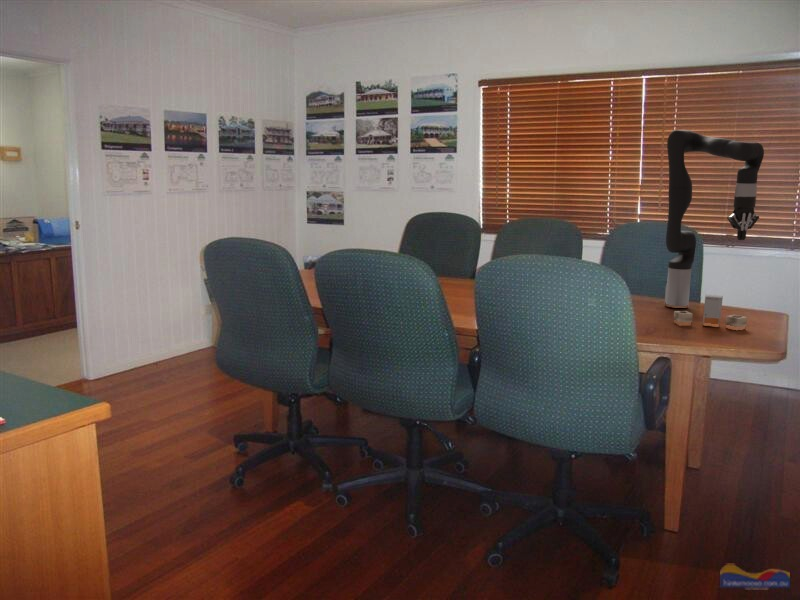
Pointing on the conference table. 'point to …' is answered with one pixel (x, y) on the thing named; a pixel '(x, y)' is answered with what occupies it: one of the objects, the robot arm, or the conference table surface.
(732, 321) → the marked block
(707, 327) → the conference table surface
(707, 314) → the skincare box
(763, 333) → the conference table surface
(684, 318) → the marked block
